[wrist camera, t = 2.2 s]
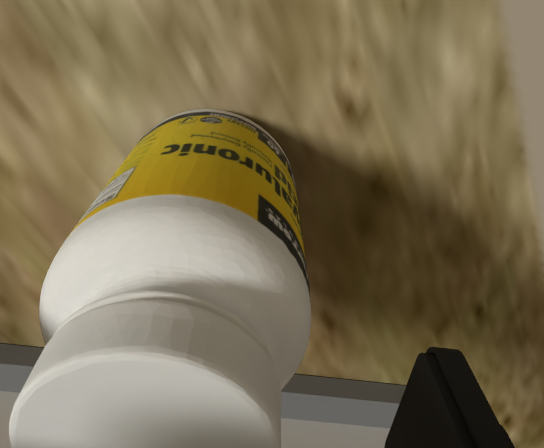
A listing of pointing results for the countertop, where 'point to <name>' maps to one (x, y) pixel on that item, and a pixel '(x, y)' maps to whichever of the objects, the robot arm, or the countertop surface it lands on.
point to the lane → (294, 407)
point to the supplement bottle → (175, 299)
